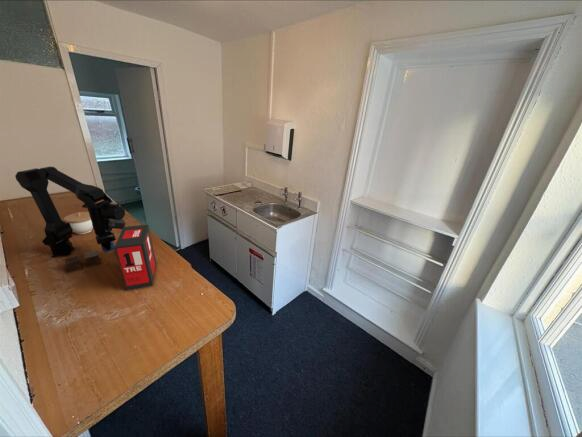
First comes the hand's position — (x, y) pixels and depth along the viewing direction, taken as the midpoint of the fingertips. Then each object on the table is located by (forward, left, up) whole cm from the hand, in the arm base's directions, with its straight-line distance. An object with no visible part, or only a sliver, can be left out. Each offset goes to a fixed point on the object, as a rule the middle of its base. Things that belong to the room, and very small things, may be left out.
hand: (108, 247), depth 107 cm
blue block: (0, 0, -1) cm, 1 cm away
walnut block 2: (-6, -2, -6) cm, 9 cm away
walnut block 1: (-12, -5, -6) cm, 14 cm away
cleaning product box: (+16, -18, -6) cm, 24 cm away
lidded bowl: (-20, +32, -6) cm, 39 cm away
